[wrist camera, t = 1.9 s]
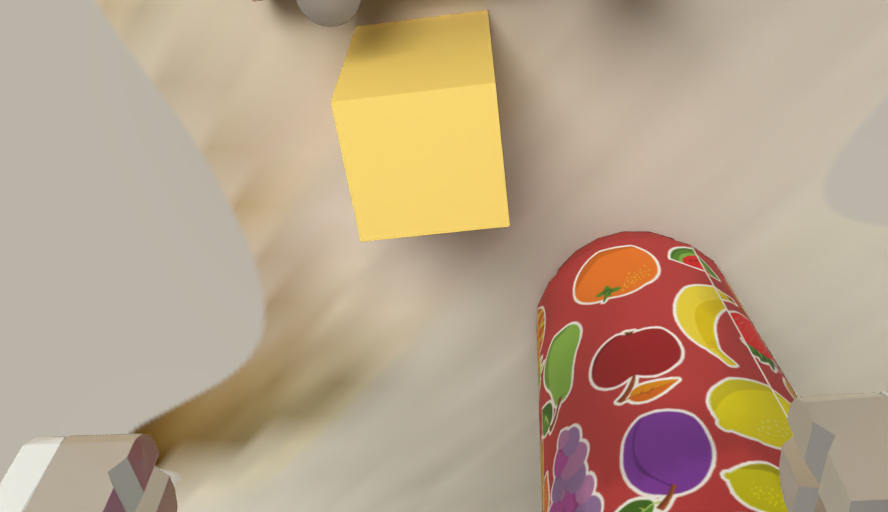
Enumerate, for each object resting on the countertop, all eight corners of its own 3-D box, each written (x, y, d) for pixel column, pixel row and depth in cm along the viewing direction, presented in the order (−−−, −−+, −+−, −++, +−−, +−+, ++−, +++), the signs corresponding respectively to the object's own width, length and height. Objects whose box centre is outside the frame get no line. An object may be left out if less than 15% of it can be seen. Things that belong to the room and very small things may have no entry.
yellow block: (499, 132, 27) (509, 226, 22) (379, 145, 27) (360, 241, 22) (487, 9, 25) (495, 82, 20) (356, 26, 25) (330, 102, 20)
